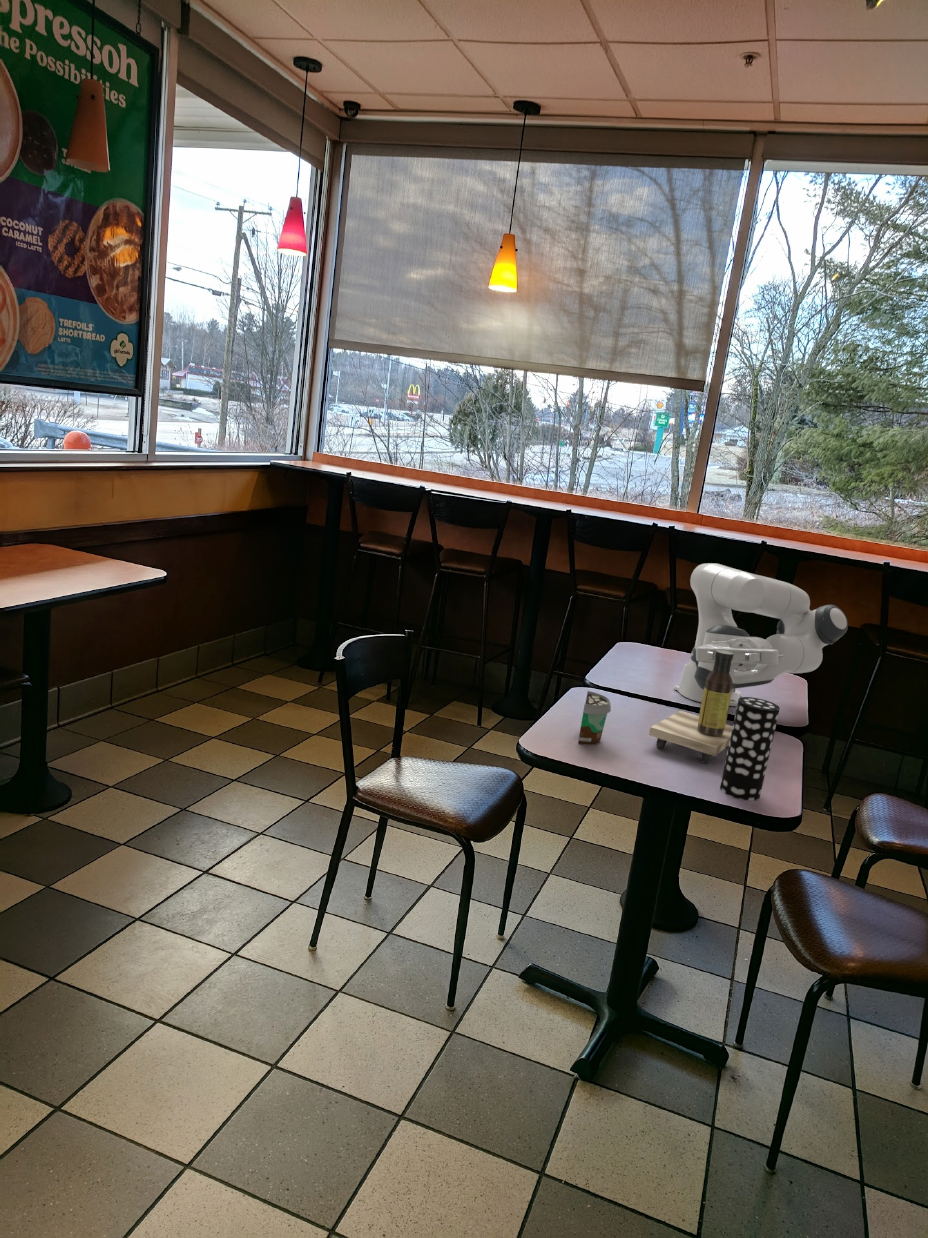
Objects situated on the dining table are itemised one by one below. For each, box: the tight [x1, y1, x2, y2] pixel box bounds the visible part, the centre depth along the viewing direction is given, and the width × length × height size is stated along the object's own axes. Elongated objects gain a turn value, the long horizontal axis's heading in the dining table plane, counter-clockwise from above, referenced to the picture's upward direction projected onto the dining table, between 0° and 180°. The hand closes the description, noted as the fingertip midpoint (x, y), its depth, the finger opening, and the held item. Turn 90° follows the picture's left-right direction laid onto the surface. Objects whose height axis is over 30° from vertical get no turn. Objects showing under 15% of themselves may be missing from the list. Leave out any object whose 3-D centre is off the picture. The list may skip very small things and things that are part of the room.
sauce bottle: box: [698, 650, 733, 736], centre depth 204 cm, size 6×6×20 cm
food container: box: [577, 690, 612, 746], centre depth 204 cm, size 12×6×10 cm, turn 168°
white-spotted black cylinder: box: [719, 696, 781, 802], centre depth 182 cm, size 8×8×20 cm
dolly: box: [648, 710, 733, 764], centre depth 209 cm, size 20×16×5 cm
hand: (728, 656), depth 214 cm, fingers open, 8 cm apart
